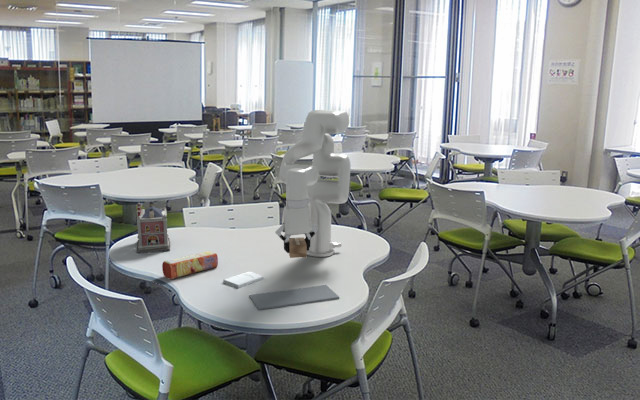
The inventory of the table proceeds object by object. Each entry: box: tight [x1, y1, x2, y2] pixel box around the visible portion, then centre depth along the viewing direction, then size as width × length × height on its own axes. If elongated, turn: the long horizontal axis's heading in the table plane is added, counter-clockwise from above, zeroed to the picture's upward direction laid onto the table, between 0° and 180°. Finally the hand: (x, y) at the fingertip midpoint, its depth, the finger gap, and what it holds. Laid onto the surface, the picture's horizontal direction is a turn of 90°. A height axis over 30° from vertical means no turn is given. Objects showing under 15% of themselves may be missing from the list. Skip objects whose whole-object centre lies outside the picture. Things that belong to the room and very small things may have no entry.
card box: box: [288, 236, 308, 259], centre depth 201 cm, size 6×9×5 cm, turn 8°
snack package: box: [161, 250, 219, 280], centre depth 210 cm, size 21×7×7 cm, turn 135°
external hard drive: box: [223, 271, 265, 289], centre depth 202 cm, size 2×8×12 cm
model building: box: [135, 201, 171, 254], centre depth 240 cm, size 19×14×20 cm
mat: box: [249, 284, 340, 311], centre depth 187 cm, size 28×12×1 cm, turn 111°
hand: (297, 250), depth 201 cm, fingers closed on card box, 6 cm apart
